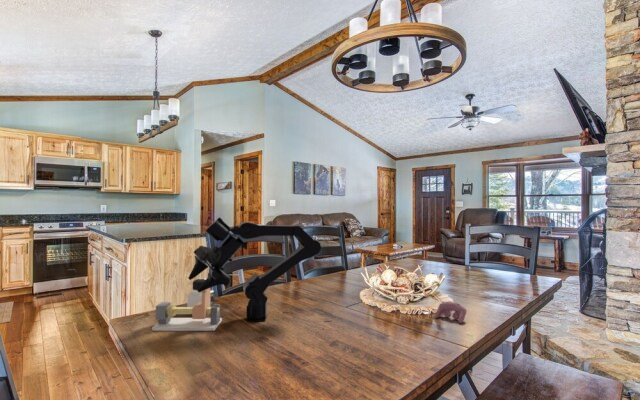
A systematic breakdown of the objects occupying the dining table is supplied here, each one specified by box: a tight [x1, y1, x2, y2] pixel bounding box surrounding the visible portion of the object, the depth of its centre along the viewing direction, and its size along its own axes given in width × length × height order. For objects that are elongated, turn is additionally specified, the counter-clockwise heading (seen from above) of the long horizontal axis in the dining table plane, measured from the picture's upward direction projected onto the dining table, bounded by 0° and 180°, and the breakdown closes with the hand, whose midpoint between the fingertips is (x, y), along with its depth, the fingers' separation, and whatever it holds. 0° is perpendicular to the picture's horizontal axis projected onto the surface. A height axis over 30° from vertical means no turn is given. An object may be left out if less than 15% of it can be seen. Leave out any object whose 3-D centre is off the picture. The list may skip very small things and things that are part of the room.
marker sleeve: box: [191, 287, 212, 319], centre depth 112 cm, size 4×6×9 cm, turn 1°
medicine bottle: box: [186, 278, 215, 307], centre depth 127 cm, size 7×7×12 cm
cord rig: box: [151, 301, 223, 332], centre depth 112 cm, size 20×9×7 cm, turn 91°
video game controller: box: [435, 301, 467, 324], centre depth 120 cm, size 10×5×7 cm, turn 47°
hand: (193, 285), depth 113 cm, fingers open, 7 cm apart
